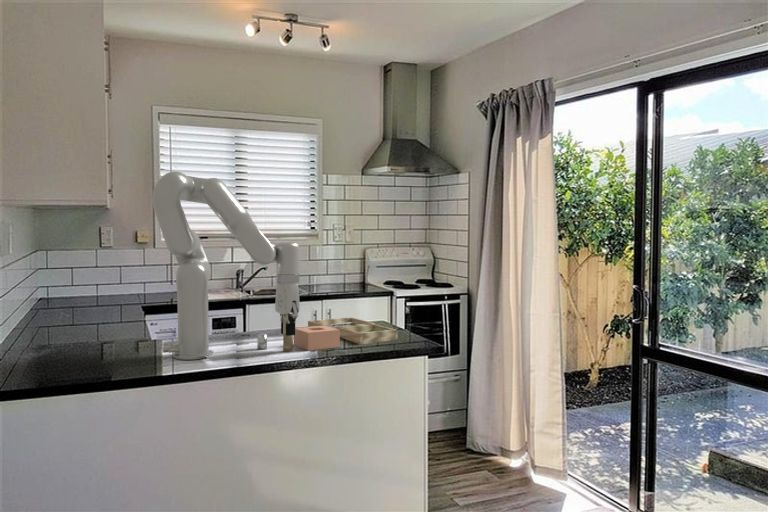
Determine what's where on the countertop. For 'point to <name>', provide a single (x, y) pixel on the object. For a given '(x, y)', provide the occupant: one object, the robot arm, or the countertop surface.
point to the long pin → (287, 337)
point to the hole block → (317, 337)
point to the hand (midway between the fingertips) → (288, 333)
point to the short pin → (261, 341)
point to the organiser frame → (359, 330)
